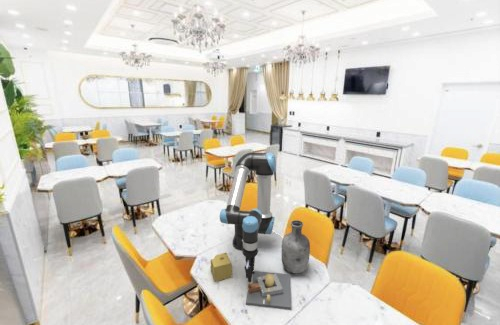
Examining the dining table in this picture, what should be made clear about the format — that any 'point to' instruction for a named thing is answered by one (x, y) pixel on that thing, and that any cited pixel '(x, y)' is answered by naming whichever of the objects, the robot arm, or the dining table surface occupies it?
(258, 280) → the handled square frame
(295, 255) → the vase
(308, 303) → the dining table surface
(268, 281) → the jig
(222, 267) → the cheese
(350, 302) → the dining table surface
